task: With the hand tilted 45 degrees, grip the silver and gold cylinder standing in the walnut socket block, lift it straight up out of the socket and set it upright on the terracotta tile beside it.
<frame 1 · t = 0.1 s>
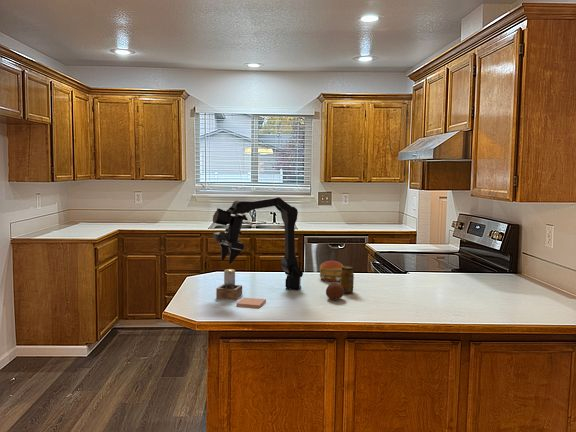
hand: (226, 261, 237), 15 cm above the countertop, tool pointing down, fingers open, 9 cm apart
silver and gold cylinder: (229, 290, 236), point 3 cm above the countertop, touching socket block
condiment: (347, 293, 247), on the countertop
socket block: (229, 296, 236), on the countertop
terracotta tile: (251, 304, 224), on the countertop
burger: (332, 280, 275), on the countertop
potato: (334, 299, 235), on the countertop
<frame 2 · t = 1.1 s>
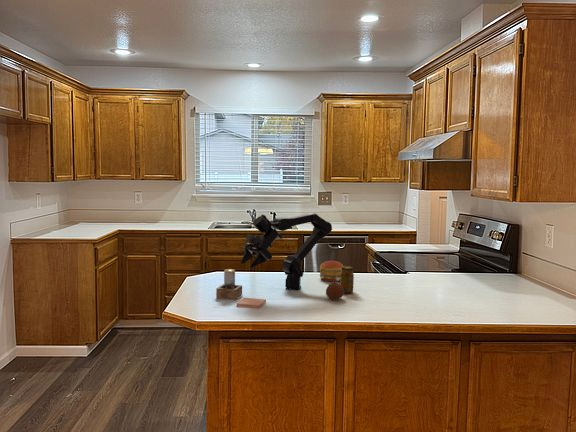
hand: (245, 265, 239), 14 cm above the countertop, tool tilted 45°, fingers open, 9 cm apart
nothing on the countertop moved.
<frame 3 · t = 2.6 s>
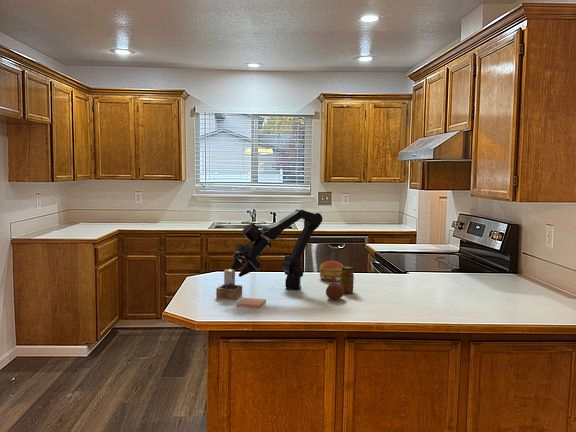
hand: (234, 274, 236), 10 cm above the countertop, tool tilted 45°, fingers open, 9 cm apart
nothing on the countertop moved.
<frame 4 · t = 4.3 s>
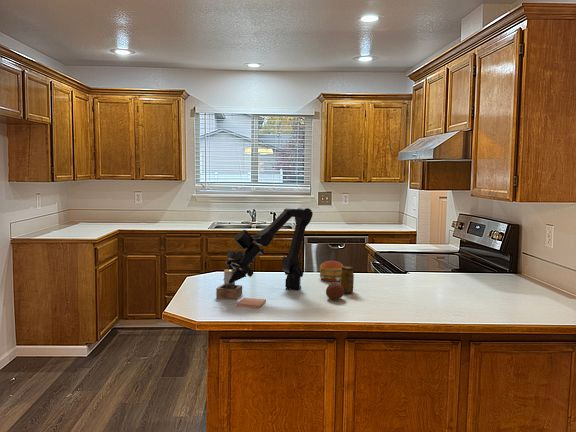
hand: (226, 281, 234), 7 cm above the countertop, tool tilted 45°, fingers closed on silver and gold cylinder, 5 cm apart
silver and gold cylinder: (229, 290, 236), point 3 cm above the countertop, touching gripper, socket block
everything else where it was.
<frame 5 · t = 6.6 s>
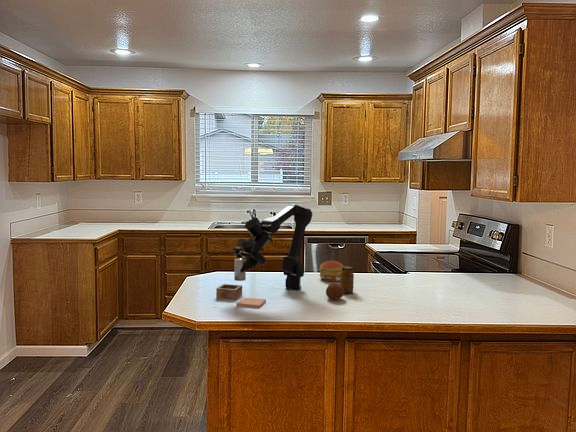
hand: (237, 270, 226), 13 cm above the countertop, tool tilted 45°, fingers closed on silver and gold cylinder, 5 cm apart
silver and gold cylinder: (240, 279, 228), point 9 cm above the countertop, touching gripper
everything else where it was.
when the fingers open (7 cm above the countertop, at t = 9.2 s): silver and gold cylinder drops 2 cm, resting on terracotta tile.
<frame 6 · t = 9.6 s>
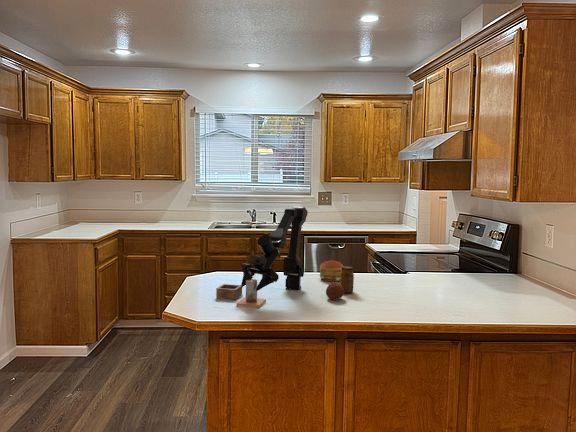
hand: (249, 288, 222), 7 cm above the countertop, tool tilted 45°, fingers open, 9 cm apart
silver and gold cylinder: (251, 301, 224), point 1 cm above the countertop, touching terracotta tile
everything else where it was.
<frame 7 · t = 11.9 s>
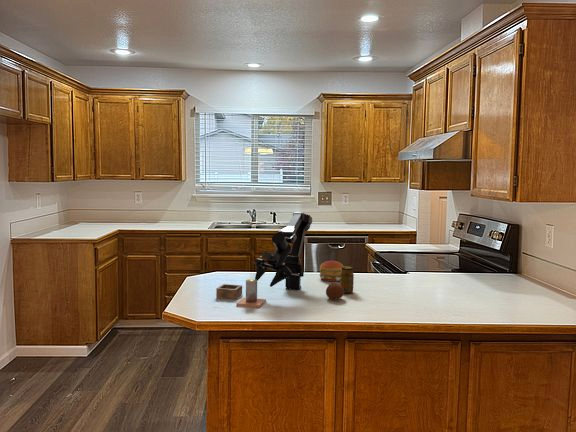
hand: (262, 283, 230), 7 cm above the countertop, tool tilted 40°, fingers open, 9 cm apart
nothing on the countertop moved.
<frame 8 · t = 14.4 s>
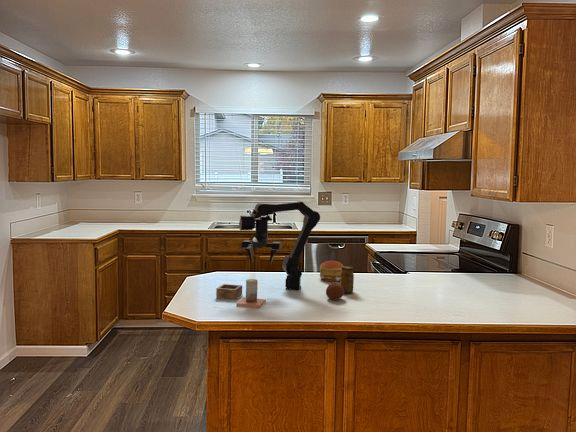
hand: (261, 263, 248), 13 cm above the countertop, tool pointing down, fingers open, 9 cm apart
nothing on the countertop moved.
at the end: silver and gold cylinder 0.0 cm off-centre on the terracotta tile, point 1.2 cm above the terracotta tile's base; silver and gold cylinder tilted 1°; the gripper is holding nothing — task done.
